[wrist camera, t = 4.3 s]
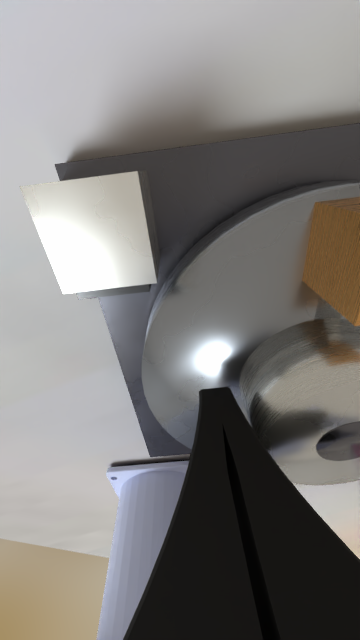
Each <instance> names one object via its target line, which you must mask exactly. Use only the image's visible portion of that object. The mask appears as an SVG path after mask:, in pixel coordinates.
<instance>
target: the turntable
mask: <svg viewBox="0 0 360 640" xmlns="http://www.w3.org/2000/svg"><path fill="white" fill-rule="evenodd" d="M324 318H340V319H347V320H348V321H349V322H350V323H352V324H353V325H354V326H360V180H347V181H328V182H322V183H317V184H312V185H307V186H302V187H297V188H294V189H291V190H288V191H285V192H282V193H279V194H276V195H273V196H270V197H267V198H265V199H263V200H261V201H259V202H257V203H255V204H253V205H251V206H249V207H247V208H245V209H243V210H241V211H239V212H238V213H236V214H235V215H233V216H231V217H230V218H228V219H227V220H225V221H224V222H222V223H221V224H219V225H218V226H216V227H215V228H214V229H213V230H211V231H210V232H209V233H208V234H207V235H205V236H204V237H203V238H202V239H201V240H199V241H198V242H197V243H196V244H195V245H194V246H193V247H192V248H191V249H190V250H189V251H188V253H187V254H186V255H185V256H184V257H183V258H182V259H181V260H180V261H179V262H178V264H177V265H176V266H175V268H174V269H173V271H172V272H171V274H170V275H169V276H168V278H167V279H166V281H165V282H164V284H163V286H162V288H161V290H160V292H159V294H158V296H157V298H156V300H155V302H154V305H153V308H152V311H151V314H150V317H149V321H148V326H147V332H146V338H145V344H144V350H143V356H142V384H143V389H144V394H145V397H146V400H147V402H148V405H149V408H150V409H151V411H152V413H153V415H154V416H155V418H156V420H157V421H158V422H159V423H160V424H161V426H162V427H163V428H164V429H165V430H166V431H167V432H168V433H169V434H170V435H171V436H172V437H173V438H175V439H176V440H177V441H179V442H180V443H182V444H183V445H185V446H186V447H188V448H190V449H192V447H193V443H194V437H195V432H196V426H197V420H198V411H199V391H200V390H201V389H210V388H220V387H229V388H230V389H231V391H232V393H233V395H234V397H235V399H236V401H237V403H238V405H239V407H240V409H241V410H242V412H243V414H244V416H245V417H246V419H247V421H248V422H249V420H248V417H247V413H246V410H245V407H244V403H243V400H242V397H241V393H240V389H239V378H240V374H241V371H242V368H243V366H244V364H245V362H246V361H247V359H248V358H249V356H250V355H251V354H252V353H253V351H254V350H255V349H256V348H257V347H258V346H259V345H261V344H262V343H263V342H264V341H266V340H267V339H268V338H270V337H271V336H273V335H275V334H276V333H278V332H280V331H282V330H284V329H286V328H288V327H291V326H293V325H296V324H299V323H302V322H305V321H310V320H315V319H324ZM249 424H250V423H249Z"/></svg>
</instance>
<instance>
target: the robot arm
mask: <svg viewBox="0 0 360 640" xmlns="http://www.w3.org/2000/svg"><path fill="white" fill-rule="evenodd" d="M106 475H107V477H108V479H109V481H110V483H111V485H112V486H113V488H114V490H115V492H116V494H117V496H118V497H119V503H118V510H117V516H116V522H115V528H114V534H113V541H112V547H111V553H110V559H109V565H108V571H107V578H106V584H105V590H104V597H103V602H102V609H101V615H100V621H99V627H98V633H97V640H360V559H359V558H358V557H357V556H356V555H355V554H354V553H353V552H352V551H351V550H350V549H349V548H348V547H347V546H346V545H345V543H344V542H343V541H342V540H341V539H340V538H339V537H338V536H337V535H336V534H335V532H334V531H333V530H332V529H331V528H330V527H329V526H328V525H327V524H326V523H325V521H324V520H323V519H322V518H321V517H320V516H319V515H318V514H317V513H316V511H315V510H314V509H313V508H312V507H311V506H310V504H309V503H308V502H307V501H306V500H305V498H304V497H303V496H302V495H301V494H300V492H299V491H298V490H297V489H296V488H295V486H294V485H293V484H292V483H291V481H290V480H289V479H288V478H287V476H286V475H285V474H284V472H283V471H282V470H281V469H280V467H279V466H278V465H277V463H276V462H275V460H274V459H273V458H272V456H271V455H270V454H269V452H268V451H267V449H266V448H265V447H264V445H263V444H262V442H261V441H260V439H259V438H258V436H257V435H256V433H255V432H254V430H253V429H252V427H251V425H250V424H249V422H248V421H247V419H246V417H245V416H244V414H243V412H242V410H241V409H240V407H239V405H238V403H237V401H236V399H235V397H234V395H233V393H232V391H231V389H230V388H229V387H220V388H210V389H201V390H200V391H199V411H198V420H197V426H196V432H195V437H194V443H193V447H192V451H191V455H190V460H189V461H177V462H166V463H154V464H142V465H130V466H119V467H110V468H108V469H107V472H106Z"/></svg>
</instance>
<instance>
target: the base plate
mask: <svg viewBox="0 0 360 640" xmlns="http://www.w3.org/2000/svg"><path fill="white" fill-rule="evenodd" d="M55 167H56V170H57V173H58V176H59V179H60V181H58V182H50V183H43V184H35V185H28V186H20V189H21V192H22V194H23V196H24V199H25V201H26V204H27V206H28V209H29V211H30V214H31V216H32V218H33V221H34V223H35V226H36V228H37V231H38V233H39V236H40V238H41V240H42V243H43V245H44V248H45V250H46V253H47V255H48V258H49V260H50V262H51V265H52V267H53V270H54V272H55V275H56V277H57V280H58V282H59V284H60V287H61V289H62V292H63V294H66V293H75V292H76V295H77V297H78V300H79V299H88V298H97V297H98V299H99V302H100V305H101V308H102V311H103V314H104V317H105V320H106V323H107V326H108V329H109V332H110V335H111V338H112V342H113V345H114V348H115V351H116V354H117V357H118V360H119V363H120V366H121V369H122V372H123V375H124V378H125V381H126V384H127V387H128V390H129V394H130V397H131V400H132V403H133V406H134V409H135V412H136V415H137V418H138V421H139V424H140V427H141V430H142V433H143V436H144V439H145V443H146V446H147V449H148V452H149V455H150V457H157V456H169V455H180V454H191V451H192V449H190V448H188V447H186V446H185V445H183V444H182V443H180V442H179V441H177V440H176V439H175V438H173V437H172V436H171V435H170V434H169V433H168V432H167V431H166V430H165V429H164V428H163V427H162V426H161V424H160V423H159V422H158V421H157V420H156V418H155V416H154V415H153V413H152V411H151V409H150V408H149V405H148V402H147V400H146V397H145V394H144V389H143V384H142V356H143V350H144V344H145V338H146V332H147V326H148V321H149V317H150V314H151V311H152V308H153V305H154V302H155V300H156V298H157V296H158V294H159V292H160V290H161V288H162V286H163V284H164V282H165V281H166V279H167V278H168V276H169V275H170V274H171V272H172V271H173V269H174V268H175V266H176V265H177V264H178V262H179V261H180V260H181V259H182V258H183V257H184V256H185V255H186V254H187V253H188V251H189V250H190V249H191V248H192V247H193V246H194V245H195V244H196V243H197V242H198V241H199V240H201V239H202V238H203V237H204V236H205V235H207V234H208V233H209V232H210V231H211V230H213V229H214V228H215V227H216V226H218V225H219V224H221V223H222V222H224V221H225V220H227V219H228V218H230V217H231V216H233V215H235V214H236V213H238V212H239V211H241V210H243V209H245V208H247V207H249V206H251V205H253V204H255V203H257V202H259V201H261V200H263V199H265V198H267V197H270V196H273V195H276V194H279V193H282V192H285V191H288V190H291V189H294V188H297V187H302V186H307V185H312V184H317V183H322V182H328V181H347V180H360V123H357V124H350V125H342V126H335V127H328V128H320V129H313V130H305V131H298V132H290V133H283V134H276V135H268V136H261V137H253V138H246V139H239V140H231V141H224V142H216V143H209V144H201V145H194V146H187V147H179V148H172V149H164V150H157V151H149V152H142V153H135V154H127V155H120V156H112V157H105V158H97V159H90V160H83V161H75V162H68V163H60V164H55Z"/></svg>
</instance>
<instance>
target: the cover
mask: <svg viewBox="0 0 360 640" xmlns="http://www.w3.org/2000/svg"><path fill="white" fill-rule="evenodd" d="M239 389H240V393H241V397H242V400H243V403H244V407H245V410H246V413H247V417H248V420H249V423H250V425H251V427H252V429H253V430H254V432H255V433H256V435H257V436H258V438H259V439H260V441H261V442H262V444H263V445H264V447H265V448H266V449H267V451H268V452H269V454H270V455H271V456H272V458H273V459H274V460H275V462H276V463H277V465H278V466H279V467H280V469H281V470H282V471H283V472H284V474H285V475H286V476H287V478H288V479H289V480H290V481H291V482H292V483H296V484H304V485H333V484H341V483H347V482H353V481H357V480H360V326H354V325H353V324H352V323H350V322H349V321H348V320H347V319H340V318H324V319H315V320H310V321H305V322H302V323H299V324H296V325H293V326H291V327H288V328H286V329H284V330H282V331H280V332H278V333H276V334H275V335H273V336H271V337H270V338H268V339H267V340H266V341H264V342H263V343H262V344H261V345H259V346H258V347H257V348H256V349H255V350H254V351H253V353H252V354H251V355H250V356H249V358H248V359H247V361H246V362H245V364H244V366H243V368H242V371H241V374H240V378H239Z"/></svg>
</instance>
